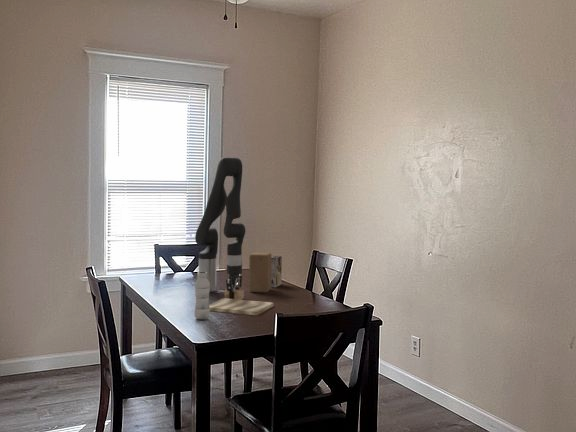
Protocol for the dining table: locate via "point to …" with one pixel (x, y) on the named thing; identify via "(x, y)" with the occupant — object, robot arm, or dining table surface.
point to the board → (240, 306)
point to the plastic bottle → (202, 297)
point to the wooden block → (260, 272)
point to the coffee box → (276, 270)
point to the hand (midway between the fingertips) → (234, 297)
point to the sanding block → (236, 294)
